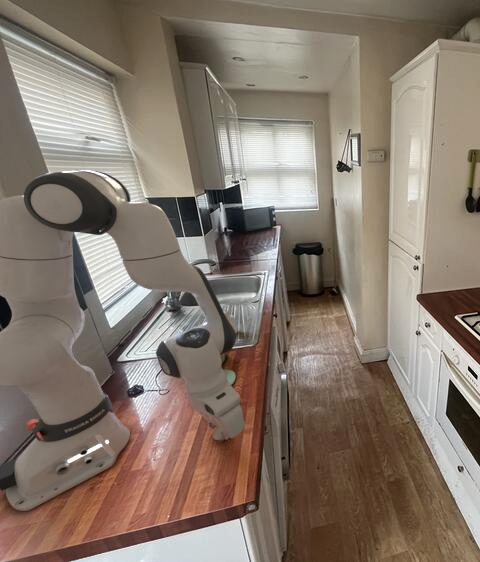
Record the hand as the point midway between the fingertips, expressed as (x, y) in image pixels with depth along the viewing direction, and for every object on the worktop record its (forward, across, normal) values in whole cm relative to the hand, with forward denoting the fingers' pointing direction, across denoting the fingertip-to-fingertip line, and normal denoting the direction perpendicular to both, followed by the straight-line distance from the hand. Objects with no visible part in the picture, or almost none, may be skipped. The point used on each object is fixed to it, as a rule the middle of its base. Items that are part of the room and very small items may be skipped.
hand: (220, 431), depth 81 cm
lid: (+1, -21, +11) cm, 24 cm away
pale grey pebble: (+2, 0, 0) cm, 2 cm away
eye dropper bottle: (+2, -46, +32) cm, 56 cm away
